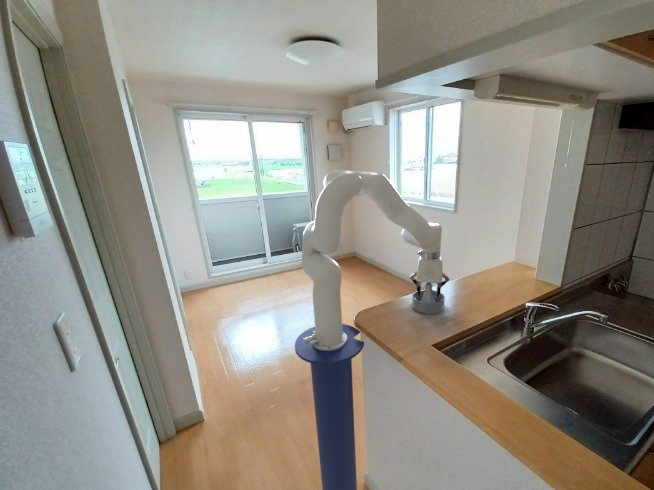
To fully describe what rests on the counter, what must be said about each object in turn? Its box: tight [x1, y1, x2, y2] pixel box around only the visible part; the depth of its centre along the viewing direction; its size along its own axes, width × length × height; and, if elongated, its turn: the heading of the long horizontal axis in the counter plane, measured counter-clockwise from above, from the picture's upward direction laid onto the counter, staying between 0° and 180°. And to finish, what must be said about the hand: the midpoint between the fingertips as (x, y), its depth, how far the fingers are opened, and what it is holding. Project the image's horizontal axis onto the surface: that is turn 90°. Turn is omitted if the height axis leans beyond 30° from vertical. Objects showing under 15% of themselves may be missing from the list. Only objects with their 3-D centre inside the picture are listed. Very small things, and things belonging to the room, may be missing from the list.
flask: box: [421, 283, 435, 303], centre depth 131 cm, size 7×7×10 cm
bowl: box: [411, 289, 446, 315], centre depth 132 cm, size 13×13×5 cm
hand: (428, 294), depth 131 cm, fingers open, 7 cm apart
